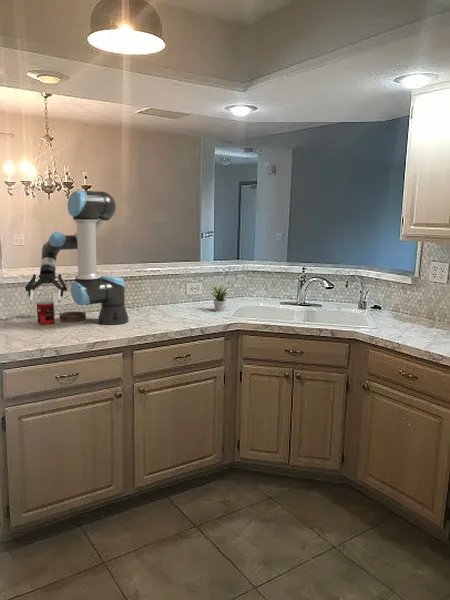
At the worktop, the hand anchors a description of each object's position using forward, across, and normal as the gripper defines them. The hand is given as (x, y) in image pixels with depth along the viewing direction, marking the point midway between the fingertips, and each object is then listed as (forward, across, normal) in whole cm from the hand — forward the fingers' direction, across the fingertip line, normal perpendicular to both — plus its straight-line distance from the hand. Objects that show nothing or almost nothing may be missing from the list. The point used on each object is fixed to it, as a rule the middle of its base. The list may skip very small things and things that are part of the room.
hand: (45, 301), depth 253 cm
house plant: (-4, -91, -18) cm, 93 cm away
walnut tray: (+6, -13, -8) cm, 17 cm away
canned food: (+11, -1, -3) cm, 12 cm away
